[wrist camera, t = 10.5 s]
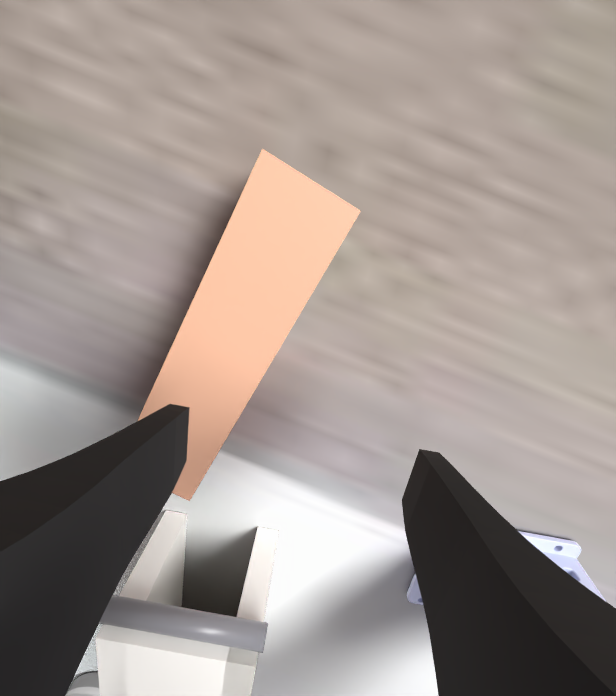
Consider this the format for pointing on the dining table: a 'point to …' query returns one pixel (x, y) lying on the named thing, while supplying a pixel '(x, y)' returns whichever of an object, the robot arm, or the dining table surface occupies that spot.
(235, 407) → the orange long block
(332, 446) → the dining table surface
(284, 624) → the dining table surface
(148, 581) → the dispenser
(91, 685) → the travel mug
